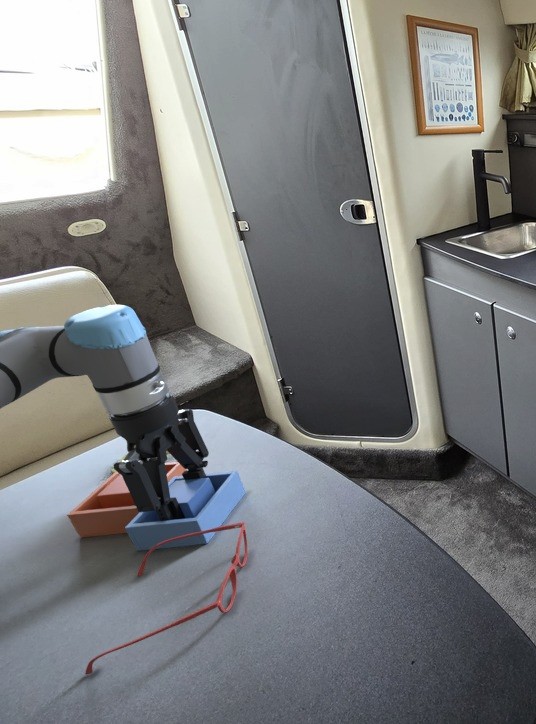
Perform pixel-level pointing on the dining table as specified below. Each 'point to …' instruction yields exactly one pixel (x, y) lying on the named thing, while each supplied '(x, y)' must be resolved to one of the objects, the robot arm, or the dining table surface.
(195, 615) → the red eyeglasses
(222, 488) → the blue bin
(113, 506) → the terracotta block
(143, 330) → the robot arm
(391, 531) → the dining table surface
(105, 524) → the terracotta bin
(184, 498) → the blue block
